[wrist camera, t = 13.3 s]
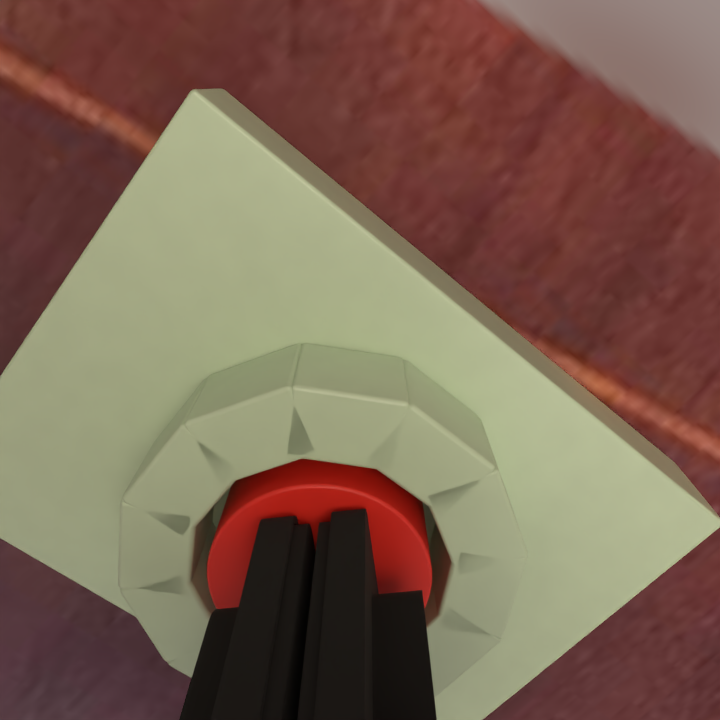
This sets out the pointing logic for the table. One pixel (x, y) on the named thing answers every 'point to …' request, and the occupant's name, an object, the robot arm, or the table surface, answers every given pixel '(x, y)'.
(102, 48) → the table surface
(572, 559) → the button block
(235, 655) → the robot arm
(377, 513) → the button
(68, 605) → the table surface
